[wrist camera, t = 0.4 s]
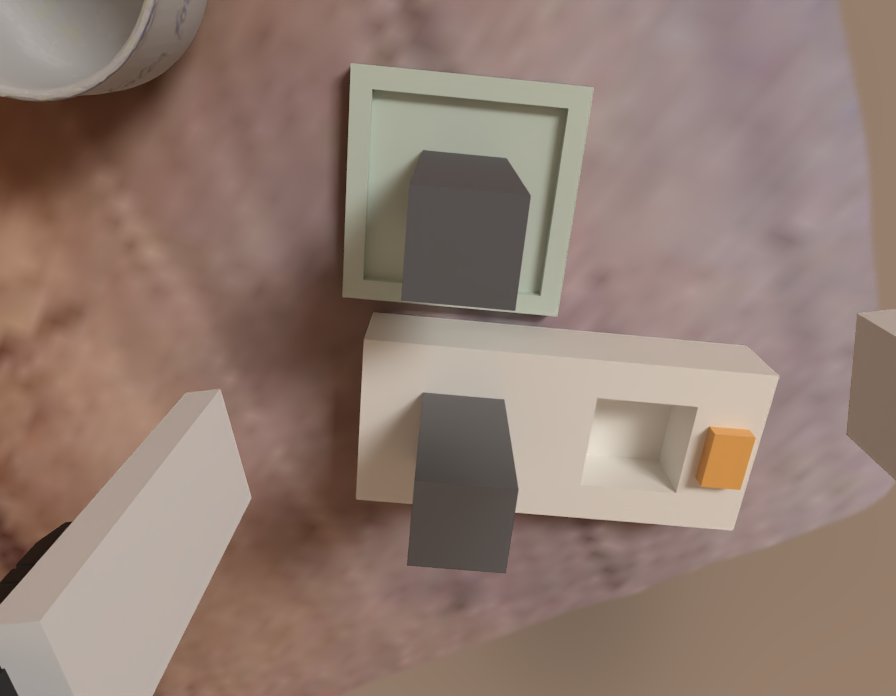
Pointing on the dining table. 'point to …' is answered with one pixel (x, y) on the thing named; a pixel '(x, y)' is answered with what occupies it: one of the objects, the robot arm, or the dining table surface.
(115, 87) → the teacup
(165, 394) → the dining table surface
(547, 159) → the tray
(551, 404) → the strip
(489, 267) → the plug
